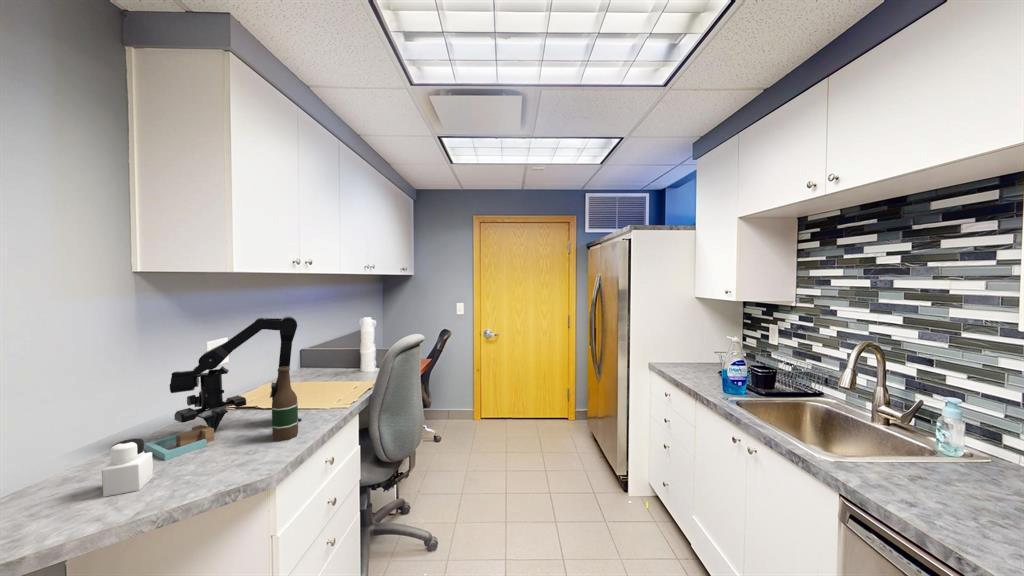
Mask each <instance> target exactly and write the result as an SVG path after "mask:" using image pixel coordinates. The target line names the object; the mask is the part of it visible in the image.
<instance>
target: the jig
mask: <svg viewBox="0 0 1024 576" xmlns="http://www.w3.org/2000/svg"><path fill="white" fill-rule="evenodd" d="M185 432H186V431H184V432H183V433H185ZM181 433H182V432H181ZM181 433H178V434H181ZM178 434H173V435H172V436H167V437H165V438H161V439H157V440H155V441H150V442H147V443H144V451H146V452H147V453H149V452H152V455H154V456H155V457H157V458H160V459H161V460H163V461H169V460H171V459H173V458H175V457H178V456H179V457H180V456H182V455H185V454H187V453H191V452H193V451H195V450H199V449H202V448H205V447H207V446H208V443H207V440H206V439H203V440H200V441H197V442H194V443H190V444H187V445H184V446H181V447H178V448H177V447H176V448H172V449H167V448H164V447H166V446H169V445H171V444H172V445H173V444H175V443H176V435H178Z"/></svg>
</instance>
